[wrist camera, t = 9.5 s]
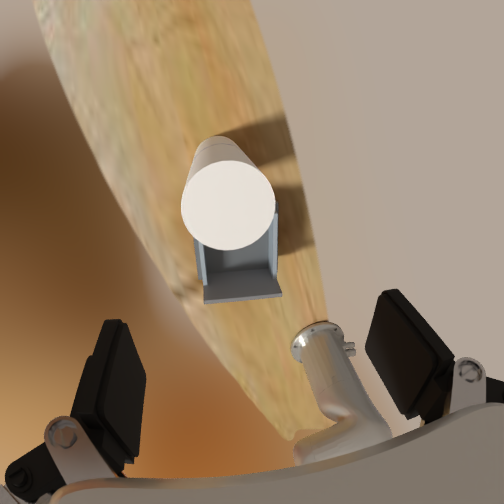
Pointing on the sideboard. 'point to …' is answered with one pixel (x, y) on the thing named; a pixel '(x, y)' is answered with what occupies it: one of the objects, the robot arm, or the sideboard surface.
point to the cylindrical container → (226, 197)
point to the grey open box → (240, 269)
